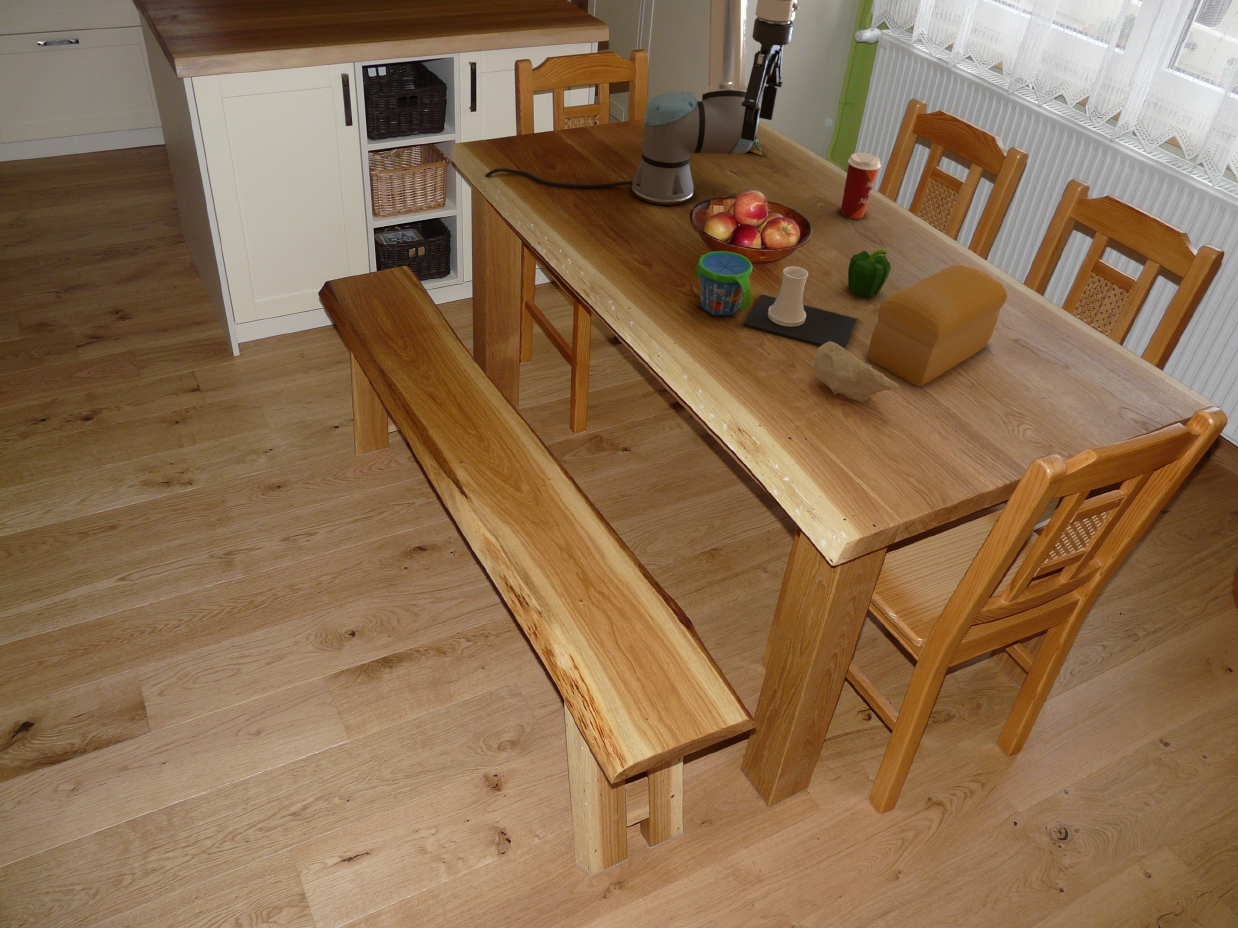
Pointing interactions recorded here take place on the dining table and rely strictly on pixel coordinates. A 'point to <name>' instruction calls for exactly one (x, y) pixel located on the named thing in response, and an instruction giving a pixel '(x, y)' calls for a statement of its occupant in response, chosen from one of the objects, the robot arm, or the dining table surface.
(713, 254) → the snack cup
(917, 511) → the dining table surface
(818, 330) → the placemat
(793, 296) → the vase
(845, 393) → the beige lumpy piece
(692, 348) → the dining table surface
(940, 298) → the bread
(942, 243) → the dining table surface
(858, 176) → the paper cup
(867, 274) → the bell pepper
